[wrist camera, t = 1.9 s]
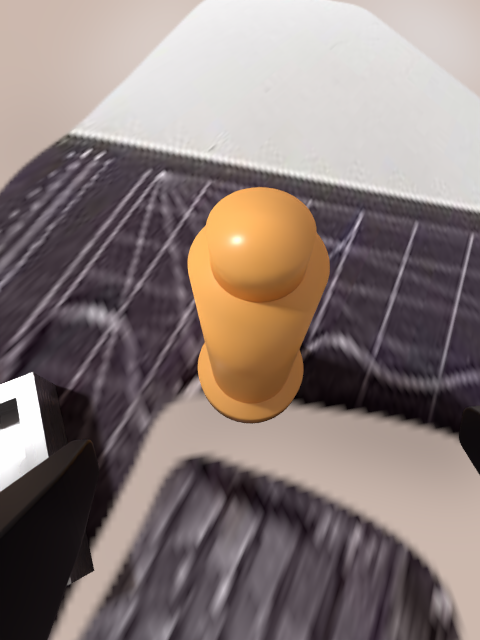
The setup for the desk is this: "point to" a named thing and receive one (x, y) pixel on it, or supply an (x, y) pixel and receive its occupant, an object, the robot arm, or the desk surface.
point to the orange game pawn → (256, 300)
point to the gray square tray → (33, 439)
